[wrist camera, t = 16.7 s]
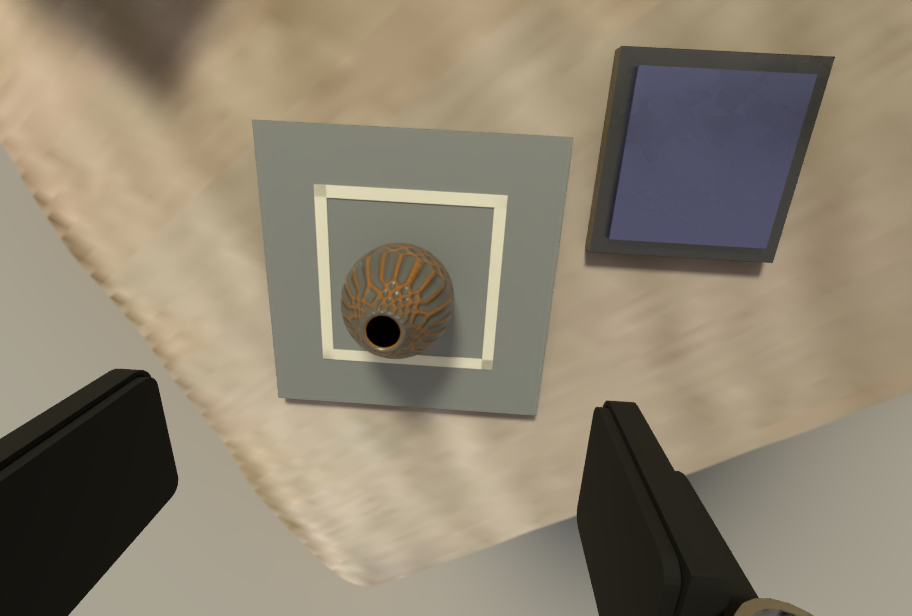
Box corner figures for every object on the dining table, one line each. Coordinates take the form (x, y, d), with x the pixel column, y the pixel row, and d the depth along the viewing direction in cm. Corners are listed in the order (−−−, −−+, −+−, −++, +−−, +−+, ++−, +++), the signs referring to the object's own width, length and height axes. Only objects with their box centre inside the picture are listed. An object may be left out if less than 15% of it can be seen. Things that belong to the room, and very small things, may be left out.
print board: (570, 137, 29) (573, 137, 28) (534, 408, 36) (536, 416, 35) (259, 120, 29) (251, 119, 28) (283, 391, 36) (278, 398, 35)
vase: (343, 303, 32) (297, 358, 24) (380, 215, 30) (344, 243, 22) (430, 344, 33) (415, 410, 25) (473, 261, 31) (472, 305, 23)
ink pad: (819, 60, 27) (841, 55, 25) (762, 258, 31) (777, 264, 29) (615, 49, 27) (624, 44, 25) (585, 247, 31) (590, 253, 30)
